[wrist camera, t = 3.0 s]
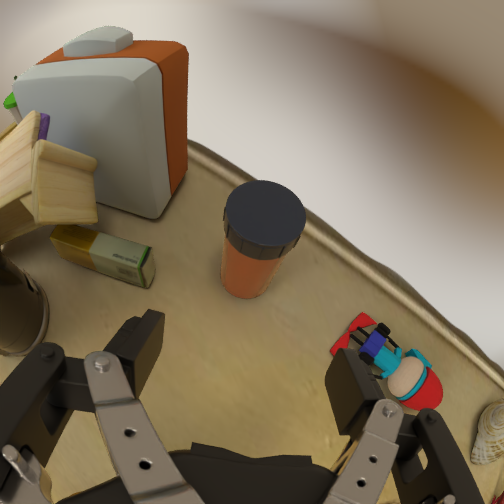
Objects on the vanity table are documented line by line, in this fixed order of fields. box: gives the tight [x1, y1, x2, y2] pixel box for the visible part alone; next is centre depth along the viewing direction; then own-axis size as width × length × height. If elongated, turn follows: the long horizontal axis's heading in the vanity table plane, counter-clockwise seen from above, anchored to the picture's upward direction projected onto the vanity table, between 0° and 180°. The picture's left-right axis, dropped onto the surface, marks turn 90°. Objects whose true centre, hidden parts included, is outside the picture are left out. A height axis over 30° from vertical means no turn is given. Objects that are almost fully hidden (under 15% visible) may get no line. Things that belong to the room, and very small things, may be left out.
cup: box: [3, 76, 23, 125], centre depth 29 cm, size 8×8×15 cm
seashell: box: [471, 399, 504, 465], centre depth 19 cm, size 10×10×10 cm
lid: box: [223, 180, 306, 261], centre depth 20 cm, size 6×6×2 cm
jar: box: [220, 235, 286, 299], centre depth 25 cm, size 5×5×11 cm
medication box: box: [50, 224, 156, 288], centre depth 25 cm, size 12×3×4 cm, turn 79°
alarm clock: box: [12, 26, 189, 219], centre depth 24 cm, size 18×9×21 cm, turn 74°
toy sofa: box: [0, 110, 98, 251], centre depth 20 cm, size 21×9×10 cm
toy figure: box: [330, 312, 443, 411], centre depth 24 cm, size 8×5×15 cm
